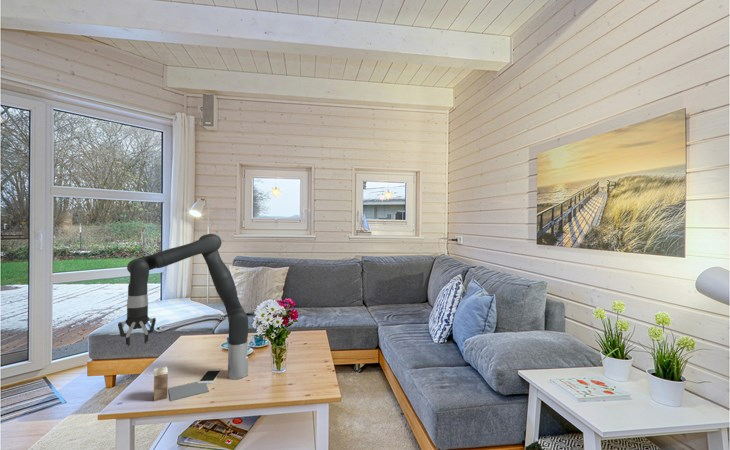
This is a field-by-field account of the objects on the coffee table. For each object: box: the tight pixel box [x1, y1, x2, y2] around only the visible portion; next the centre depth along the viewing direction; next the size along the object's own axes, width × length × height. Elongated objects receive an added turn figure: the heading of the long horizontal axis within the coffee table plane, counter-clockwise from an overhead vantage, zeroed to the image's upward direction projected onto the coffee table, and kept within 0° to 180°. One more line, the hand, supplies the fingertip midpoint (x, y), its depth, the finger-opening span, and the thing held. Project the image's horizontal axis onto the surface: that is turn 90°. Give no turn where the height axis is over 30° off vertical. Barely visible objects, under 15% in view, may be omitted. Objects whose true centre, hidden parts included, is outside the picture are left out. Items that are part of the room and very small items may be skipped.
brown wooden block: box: [153, 366, 169, 402], centre depth 150 cm, size 5×6×12 cm
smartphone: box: [197, 368, 223, 385], centre depth 171 cm, size 7×15×1 cm, turn 7°
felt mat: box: [168, 380, 210, 402], centre depth 156 cm, size 16×13×1 cm
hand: (137, 343), depth 145 cm, fingers open, 5 cm apart
